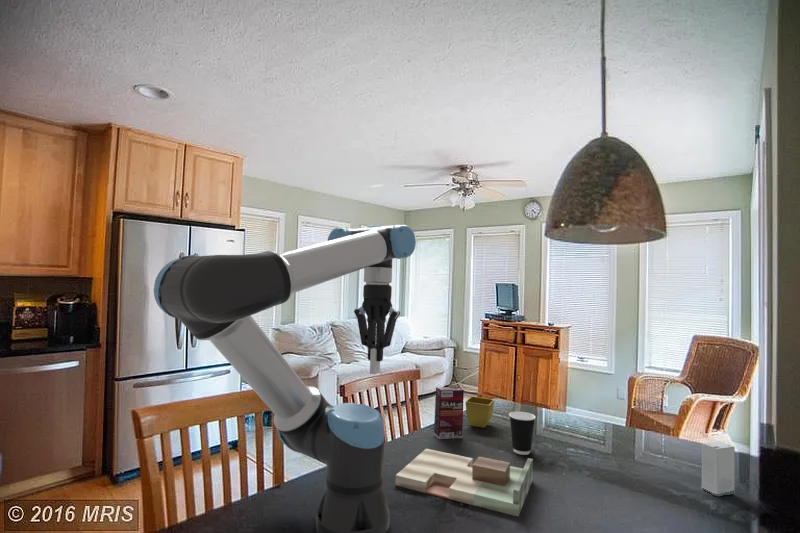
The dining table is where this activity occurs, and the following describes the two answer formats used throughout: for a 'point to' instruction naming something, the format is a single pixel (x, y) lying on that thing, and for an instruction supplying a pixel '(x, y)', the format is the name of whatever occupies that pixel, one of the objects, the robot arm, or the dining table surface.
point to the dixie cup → (522, 431)
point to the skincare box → (718, 467)
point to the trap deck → (465, 482)
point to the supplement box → (448, 412)
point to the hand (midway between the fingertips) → (374, 373)
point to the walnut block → (491, 471)
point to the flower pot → (479, 411)
